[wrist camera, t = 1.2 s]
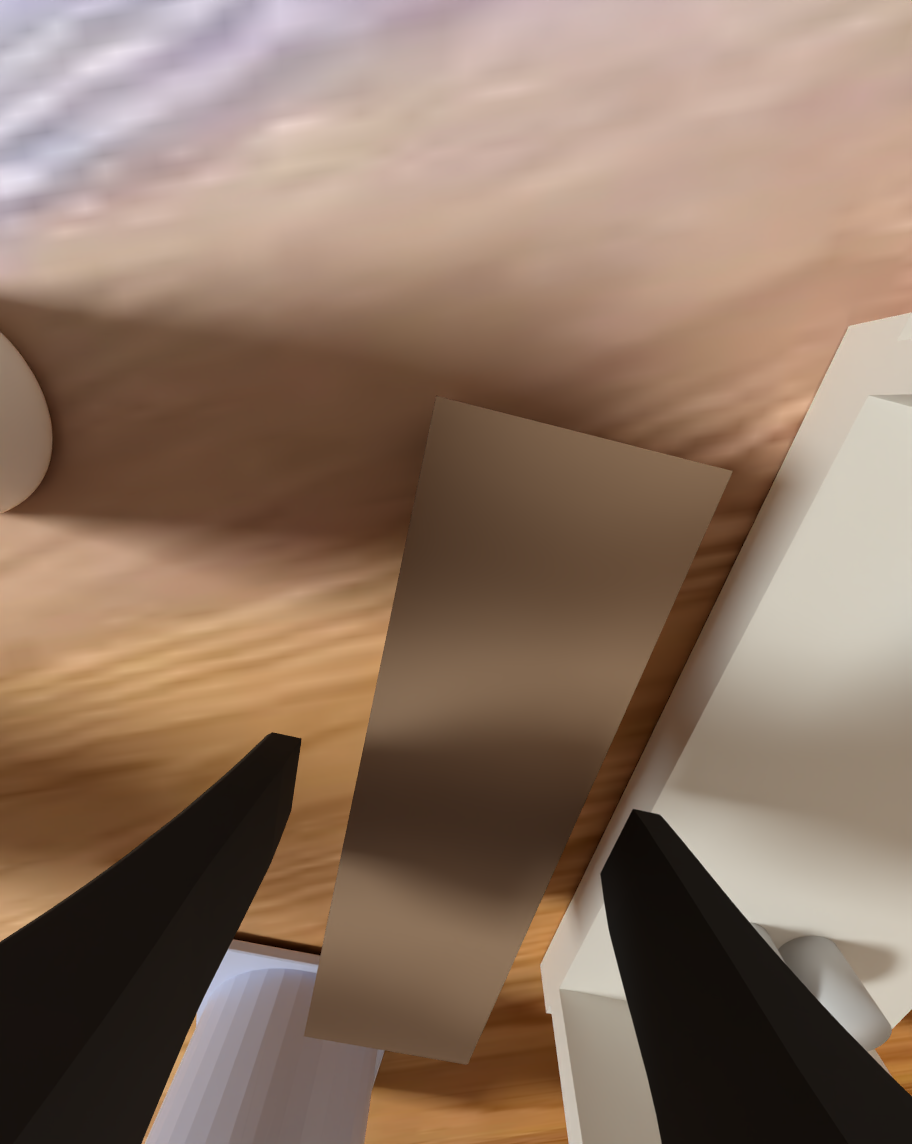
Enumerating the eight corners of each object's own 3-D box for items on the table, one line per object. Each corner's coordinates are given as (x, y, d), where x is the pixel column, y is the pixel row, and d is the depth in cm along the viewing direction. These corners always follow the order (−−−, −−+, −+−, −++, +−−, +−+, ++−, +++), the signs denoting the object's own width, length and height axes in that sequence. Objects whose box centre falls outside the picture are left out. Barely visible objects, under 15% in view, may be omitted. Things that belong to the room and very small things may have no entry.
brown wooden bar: (468, 879, 17) (467, 1064, 12) (351, 856, 16) (303, 1036, 12) (622, 444, 11) (732, 471, 7) (450, 400, 11) (436, 395, 6)
